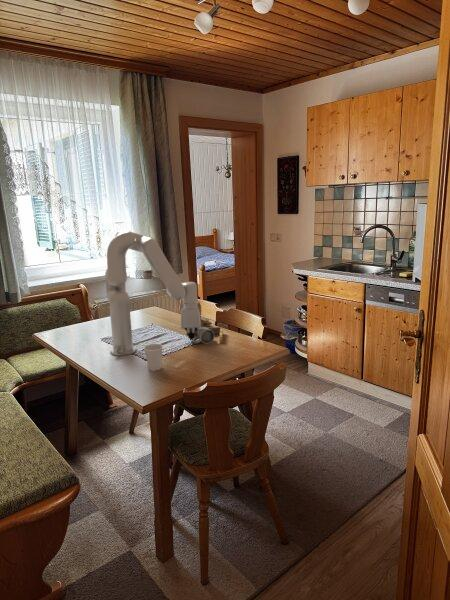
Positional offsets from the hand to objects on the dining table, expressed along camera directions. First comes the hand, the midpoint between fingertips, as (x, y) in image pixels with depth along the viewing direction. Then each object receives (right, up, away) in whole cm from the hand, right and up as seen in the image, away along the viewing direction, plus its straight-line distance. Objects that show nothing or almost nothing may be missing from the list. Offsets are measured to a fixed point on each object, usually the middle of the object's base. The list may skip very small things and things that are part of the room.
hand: (191, 339), depth 218 cm
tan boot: (+1, +5, +27) cm, 27 cm away
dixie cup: (-14, -10, -34) cm, 38 cm away
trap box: (+6, 0, +3) cm, 7 cm away
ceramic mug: (+6, -2, -2) cm, 7 cm away
